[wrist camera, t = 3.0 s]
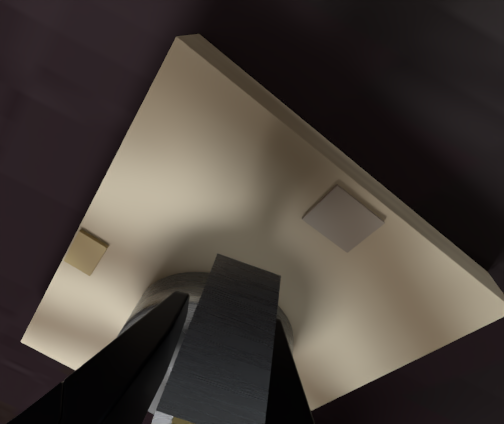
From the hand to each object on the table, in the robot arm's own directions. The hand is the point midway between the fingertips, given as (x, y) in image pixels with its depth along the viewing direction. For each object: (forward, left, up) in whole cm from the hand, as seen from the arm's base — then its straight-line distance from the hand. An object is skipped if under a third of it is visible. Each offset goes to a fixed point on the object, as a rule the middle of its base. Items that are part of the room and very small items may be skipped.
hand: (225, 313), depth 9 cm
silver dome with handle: (-5, -2, -3) cm, 6 cm away
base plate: (-5, -2, -5) cm, 7 cm away
